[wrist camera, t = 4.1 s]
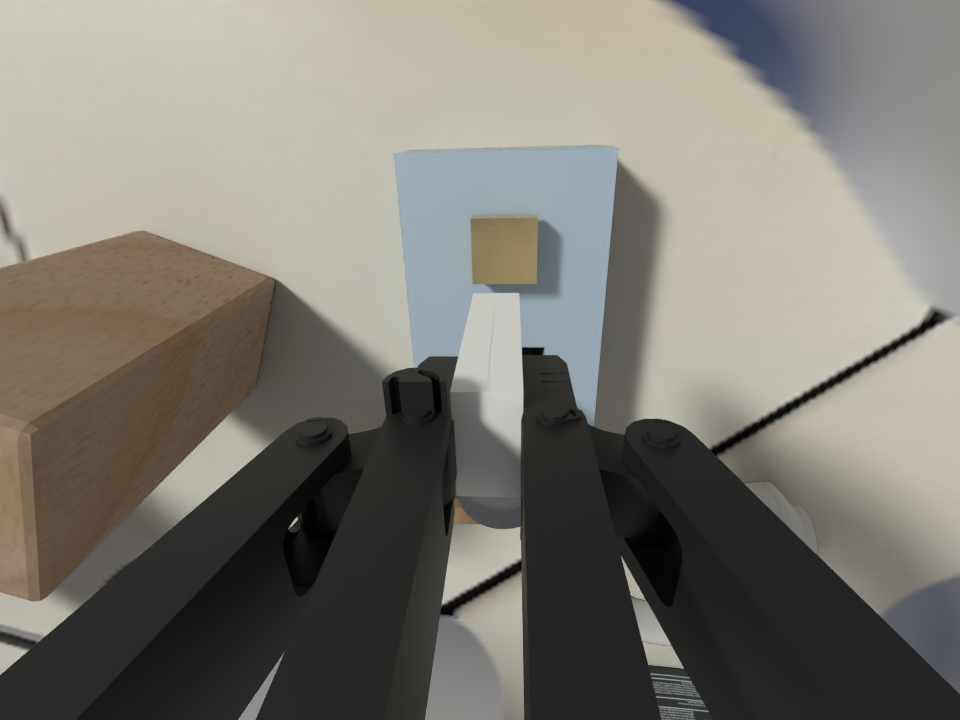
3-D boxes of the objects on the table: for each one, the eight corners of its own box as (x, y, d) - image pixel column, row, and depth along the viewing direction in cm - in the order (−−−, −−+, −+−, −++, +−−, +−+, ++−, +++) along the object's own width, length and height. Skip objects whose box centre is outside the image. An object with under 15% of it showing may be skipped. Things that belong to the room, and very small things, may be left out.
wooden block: (278, 277, 35) (30, 435, 17) (257, 389, 39) (40, 609, 21) (140, 226, 34) (-279, 336, 16) (134, 346, 38) (-203, 540, 20)
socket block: (431, 395, 38) (420, 431, 34) (411, 150, 31) (394, 153, 26) (583, 397, 38) (593, 433, 33) (602, 145, 30) (618, 148, 25)
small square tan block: (479, 259, 32) (472, 284, 27) (477, 203, 31) (470, 218, 26) (532, 258, 32) (536, 283, 27) (534, 202, 31) (538, 217, 25)
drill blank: (480, 373, 37) (460, 527, 23) (479, 325, 36) (456, 459, 21) (532, 374, 37) (544, 530, 23) (533, 325, 35) (547, 461, 21)
